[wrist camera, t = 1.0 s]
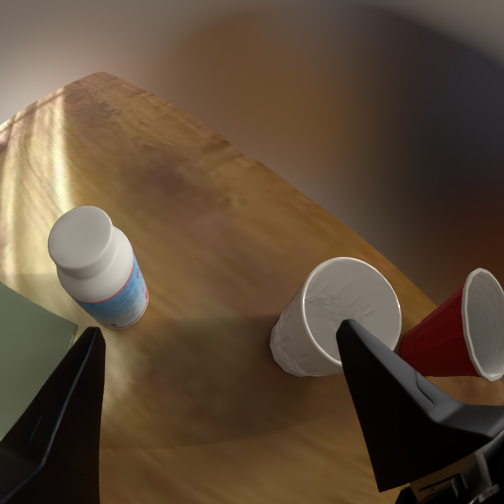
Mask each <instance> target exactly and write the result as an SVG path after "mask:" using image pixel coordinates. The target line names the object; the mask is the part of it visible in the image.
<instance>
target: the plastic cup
mask: <svg viewBox="0 0 504 504" xmlns="http://www.w3.org/2000/svg"><path fill="white" fill-rule="evenodd" d="M400 356H401V358H402V359H403V360H404V361H405V362H407V363H408V364H409V365H410V366H411V367H413V368H414V369H415V371H417V372H419V373H420V374H421V375H422V376H433V377H449V376H476V377H482V378H485V379H486V380H488V381H494V380H497V379H499V378H501V376H502V375H503V374H504V292H503V290H502V288H501V286H500V284H499V283H498V281H497V280H496V279H495V278H494V276H493V275H492V274H491V273H490V272H489V271H487V270H484V269H481V268H478V269H477V270H475V271H473V272H472V273H471V274H470V275H469V276H468V278H467V280H466V282H464V284H463V285H462V286H461V287H460V288H459V289H458V290H457V291H456V292H455V293H453V294H452V296H451V297H450V298H449V299H448V300H447V301H445V302H444V303H443V304H442V305H441V306H439V307H438V308H437V309H436V310H434V311H433V312H432V313H431V314H429V315H428V316H427V317H426V318H424V319H423V320H422V321H421V323H419V324H418V325H417V326H415V327H414V328H413V329H411V330H410V331H409V332H408V333H407V334H406V336H405V337H404V339H403V340H402V343H401V347H400Z"/></svg>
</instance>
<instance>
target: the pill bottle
mask: <svg viewBox="0 0 504 504" xmlns="http://www.w3.org/2000/svg"><path fill="white" fill-rule="evenodd" d="M48 251H49V254H50V256H51V258H52V260H53V261H54V263H55V264H56V266H57V275H58V278H59V281H60V283H61V285H62V287H63V288H64V289H65V290H66V292H67V293H68V294H69V295H70V296H71V297H72V298H73V299H74V300H75V301H76V302H77V303H78V304H79V305H80V306H81V307H82V308H83V309H84V310H85V311H86V312H87V313H88V314H90V315H91V316H92V317H93V318H94V319H95V320H96V321H97V322H99V323H100V324H101V325H103V326H105V327H107V328H110V329H116V330H117V329H125V328H128V327H130V326H132V325H133V324H135V323H136V322H137V321H138V320H139V319H140V318H141V316H142V315H143V313H144V311H145V309H146V307H147V304H148V290H147V287H146V284H145V281H144V279H143V277H142V274H141V271H140V269H139V266H138V264H137V261H136V258H135V256H134V253H133V250H132V247H131V245H130V242H129V241H128V239H127V237H126V236H125V235H124V234H123V233H122V232H121V231H120V230H119V229H118V228H116V227H114V226H113V225H112V223H111V220H110V218H109V217H108V215H107V214H106V213H105V212H104V211H103V210H101V209H99V208H97V207H93V206H81V207H77V208H74V209H72V210H70V211H68V212H67V213H65V214H64V215H63V216H61V217H60V218H59V219H58V221H57V222H56V223H55V224H54V226H53V228H52V230H51V232H50V235H49V238H48Z"/></svg>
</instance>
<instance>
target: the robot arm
mask: <svg viewBox="0 0 504 504" xmlns="http://www.w3.org/2000/svg"><path fill="white" fill-rule="evenodd" d="M336 341H337V345H338V350H339V354H340V359H341V364H342V368H343V372H344V375H345V378H346V381H347V384H348V387H349V390H350V393H351V396H352V400H353V403H354V406H355V409H356V412H357V416H358V419H359V422H360V425H361V429H362V432H363V435H364V439H365V442H366V446H367V449H368V453H369V457H370V460H371V464H372V468H373V471H374V475H375V479H376V483H377V487H378V490H379V492H383V491H387V490H390V489H393V488H396V487H399V486H402V485H404V484H407V483H410V485H409V486H408V487H406V488H404V489H402V490H401V491H400V494H399V496H398V498H397V500H396V502H395V504H504V405H503V406H489V405H469V404H464V403H461V402H459V401H457V400H456V399H454V398H453V397H451V396H450V395H448V394H447V393H445V392H444V391H442V390H441V389H440V388H438V387H437V386H435V385H434V384H433V383H431V382H430V381H429V380H427V379H426V378H425V377H424V376H422V375H421V374H420V373H419V372H417V371H415V369H414V368H413V367H411V366H410V365H409V364H408V363H407V362H405V361H404V360H403V359H402V358H400V357H399V356H398V355H397V354H396V353H394V352H393V351H392V350H391V349H390V348H388V347H387V346H386V345H385V344H383V343H382V342H381V341H380V340H379V339H377V338H376V337H375V336H374V335H372V334H371V333H370V332H369V331H368V330H366V329H365V328H364V327H363V326H361V325H360V324H359V323H358V322H357V321H355V320H354V319H345V320H343V321H342V322H341V324H340V326H339V328H338V330H337V332H336ZM105 351H106V343H105V340H104V337H103V335H102V332H101V330H100V328H99V327H93V326H89V327H88V328H87V329H86V330H85V331H84V332H83V333H82V335H81V336H80V337H79V338H78V340H77V341H76V342H75V343H74V345H73V346H72V347H71V349H70V350H69V351H68V352H67V354H66V355H65V356H64V358H63V359H62V360H61V361H60V363H59V364H58V365H57V367H56V368H55V369H54V371H53V372H52V373H51V375H50V376H49V378H48V379H47V380H46V382H45V383H44V385H43V386H42V387H41V389H40V390H39V392H38V393H37V396H35V397H34V399H33V400H32V402H31V403H30V404H29V406H28V407H27V409H26V410H25V411H24V413H23V414H22V415H21V416H20V418H19V419H18V420H17V422H16V423H15V424H14V425H13V426H12V428H11V429H10V430H9V431H8V432H7V434H6V435H5V436H4V437H3V439H2V440H1V441H0V504H100V497H99V441H100V425H101V412H102V402H103V393H104V381H105Z"/></svg>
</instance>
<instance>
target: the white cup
mask: <svg viewBox="0 0 504 504" xmlns="http://www.w3.org/2000/svg"><path fill="white" fill-rule="evenodd" d="M345 319H354V320H355V321H357V322H358V323H359V324H360V325H361V326H363V327H364V328H365V329H366V330H368V331H369V332H370V333H371V334H372V335H374V336H375V337H376V338H377V339H379V340H380V341H381V342H382V343H383V344H385V345H386V346H387V347H388V348H390V349H391V350H392V351H393V350H394V348H395V346H396V344H397V342H398V339H399V336H400V332H401V310H400V306H399V302H398V299H397V297H396V294H395V292H394V290H393V289H392V287H391V285H390V284H389V282H388V281H387V280H386V279H385V277H384V276H383V275H382V274H381V273H380V272H379V271H377V270H376V269H375V268H373V267H372V266H370V265H369V264H367V263H365V262H363V261H360V260H357V259H354V258H347V257H339V258H333V259H330V260H327V261H325V262H323V263H321V264H320V265H318V266H317V267H316V268H315V269H314V270H313V271H312V272H311V273H310V275H309V276H308V277H307V279H306V280H305V282H304V283H303V284H302V286H301V287H300V289H299V290H298V291H297V293H296V294H295V295H294V297H293V298H292V299H291V301H290V302H289V303H288V305H287V306H286V308H285V309H284V311H283V312H282V314H281V315H280V318H279V320H278V321H277V323H276V324H275V326H274V327H273V328H272V331H271V338H270V348H271V351H272V354H273V358H274V360H275V361H276V362H277V363H278V365H279V366H280V367H281V368H282V369H283V370H284V371H285V372H287V373H290V374H293V375H295V376H298V377H307V376H316V377H319V376H328V375H337V374H342V373H344V372H343V368H342V364H341V359H340V354H339V350H338V345H337V341H336V332H337V330H338V328H339V326H340V324H341V322H342V321H343V320H345Z"/></svg>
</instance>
